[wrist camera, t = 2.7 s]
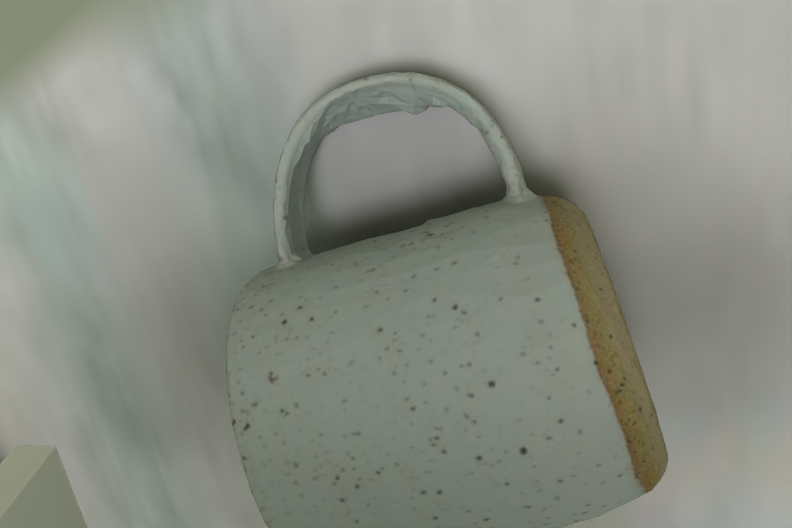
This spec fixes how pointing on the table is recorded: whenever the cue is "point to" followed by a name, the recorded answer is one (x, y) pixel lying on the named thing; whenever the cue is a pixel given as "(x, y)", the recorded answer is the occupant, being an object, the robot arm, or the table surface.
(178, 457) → the table surface
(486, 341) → the ceramic mug
